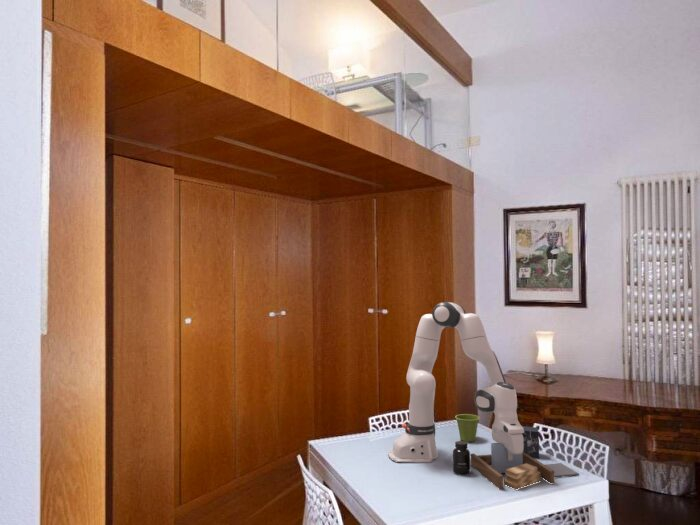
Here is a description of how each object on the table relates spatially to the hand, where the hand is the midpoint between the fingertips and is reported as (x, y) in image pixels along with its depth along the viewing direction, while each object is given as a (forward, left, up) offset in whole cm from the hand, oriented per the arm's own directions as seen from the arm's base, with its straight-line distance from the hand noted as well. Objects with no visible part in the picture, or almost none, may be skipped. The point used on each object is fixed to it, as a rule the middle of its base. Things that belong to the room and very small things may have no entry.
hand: (507, 458), depth 202 cm
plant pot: (+3, +44, -6) cm, 45 cm away
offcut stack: (+1, -11, -6) cm, 13 cm away
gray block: (0, 0, -5) cm, 5 cm away
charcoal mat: (+20, -3, -6) cm, 21 cm away
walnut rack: (+1, -2, -6) cm, 6 cm away
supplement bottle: (-17, +5, -6) cm, 19 cm away
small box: (+18, +18, -6) cm, 26 cm away
